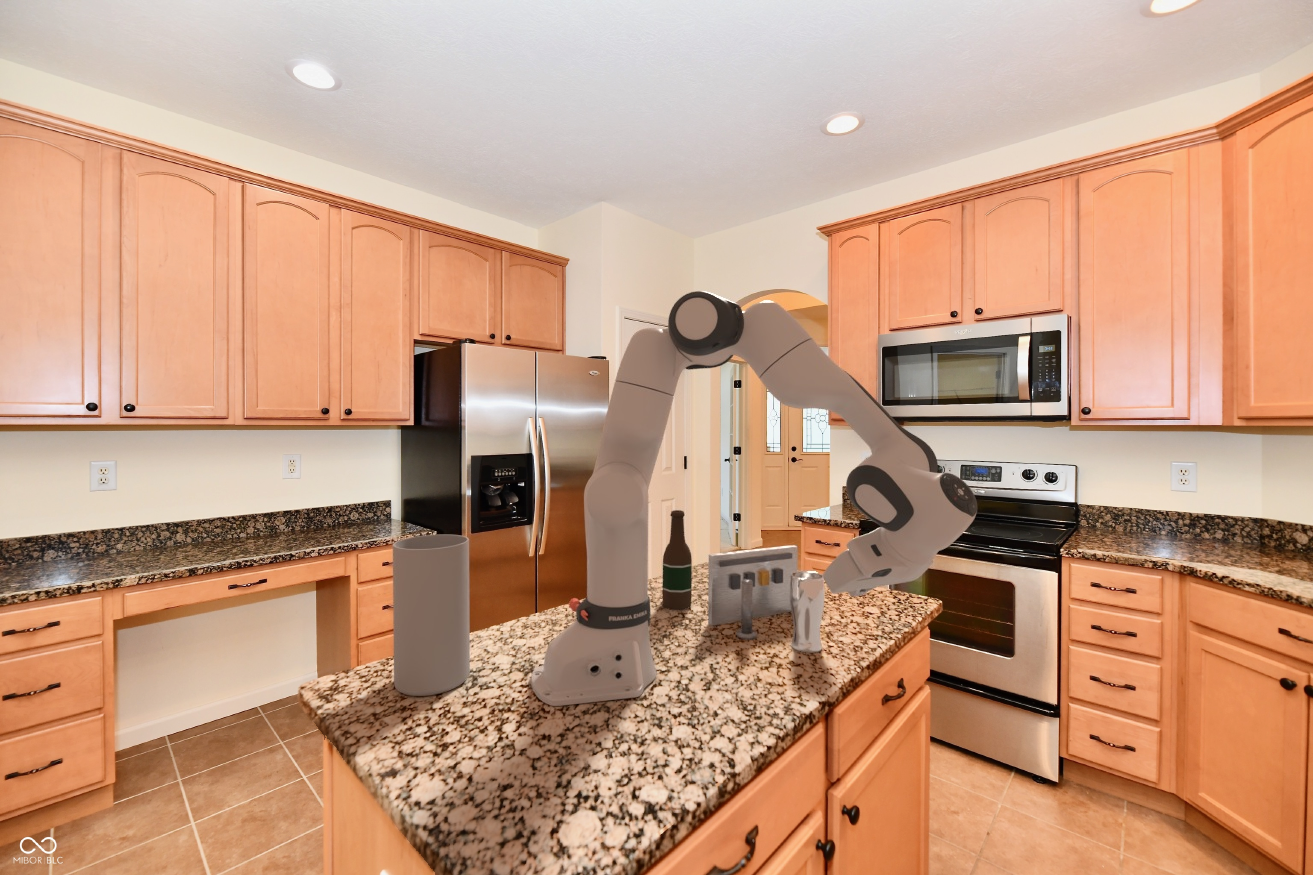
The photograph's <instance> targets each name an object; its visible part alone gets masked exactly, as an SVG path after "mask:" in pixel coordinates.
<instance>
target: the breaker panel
mask: <svg viewBox="0 0 1313 875" xmlns="http://www.w3.org/2000/svg"><path fill="white" fill-rule="evenodd" d="M798 548H799V547H798V546H797V545H794V544H792V545H783V546H774V547H764V548H754V549H747V550H738V551H729V552H728V551H727V552H720V553H719V552H718V553H710V554H708V595H707V596H708V599H707V600H708V603H707V605H708V606H707V608H708V609H707V613H708V614H707V616H708V619H707V620H708V621H707V622H708V623H707V624H708V625H709V626H713V627H714V626H718V625H726V624H731V623H736V622H741V583H742V580H744V579H748V580H752V581H753V611H752V620H754V619H760V618H765V617H764V616H766V617H772V616H776V614H778V615H782V614H781V613H784V614H788V612H790V613H791V606H790V581H791V573H792V572H795V571H798V552H799V551H798ZM771 615H772V616H771Z"/></svg>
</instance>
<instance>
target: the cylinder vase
mask: <svg viewBox="0 0 1313 875" xmlns="http://www.w3.org/2000/svg"><path fill="white" fill-rule="evenodd" d="M392 591H393V592H392V596H393V597H392V598H393V599H392V603H393V604H392V606H393V608H392V609H393V610H392V611H393V618H392V619H393V625H392V626H393V685H394V687H395V689H396V690H397V691H398V692H400V693H401V694H403V695H407V696H413V697H427V696H434V695H438V694H443V693H446V692H448V691H452V690H453V689H455V688H457V687H459V686H461V685H462V684H463V683H464V682H465V681H466V680H467V679H468V677H469V676H470V673H471V671H470V670H471V669H470V668H471V667H470V666H471V664H470V663H471V661H470V659H471V657H470V656H471V654H470V650H471V649H470V647H471V645H470V642H471V641H470V639H471V638H470V637H471V636H470V633H471V632H470V630H471V629H470V627H471V625H470V539H469V537H467V536H465V535H459V534H427V535H426V534H425V535H419V536H418V535H417V536H412V537H407V538H403V539H400V540H397V541H394V542H393V543H392Z"/></svg>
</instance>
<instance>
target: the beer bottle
mask: <svg viewBox="0 0 1313 875" xmlns="http://www.w3.org/2000/svg"><path fill="white" fill-rule="evenodd" d="M669 516H670V517H671V521H670V534H669V535H670V536H669V542H668V544H667V545H666V546H665V549H664V552H663V556H662V606H663V607H664V608H666V609H667V610H673V611H678V610H679V611H683V610H686V609H690V608H691V607H692V595H693V594H692V591H693V589H692V586H693V585H692V584H693V583H692V581H693V580H692V579H693V577H692V574H693V572H692V566H693V565H692V564H693V561H692V559H693V558H692V553H691V549H690V547H689V545H688V544H687V542H686V538H685V521H684V520H685V519H684V517H685V512H684V510H680V509H678V510H677V509H674V510H671V512H670V515H669Z"/></svg>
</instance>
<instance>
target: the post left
mask: <svg viewBox="0 0 1313 875" xmlns="http://www.w3.org/2000/svg"><path fill="white" fill-rule="evenodd" d="M752 611H753V581H752V580H748V579H744V580H742V583H741V621H740V628H739V629H737V630H736V637H737V638H739V639H741V640H744V639H747V641H748V640H749V639H750V640H751V639H752V640H755V639H757V638H758V632H757V630H755V629H753V619H752ZM750 640H749V641H750Z"/></svg>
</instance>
